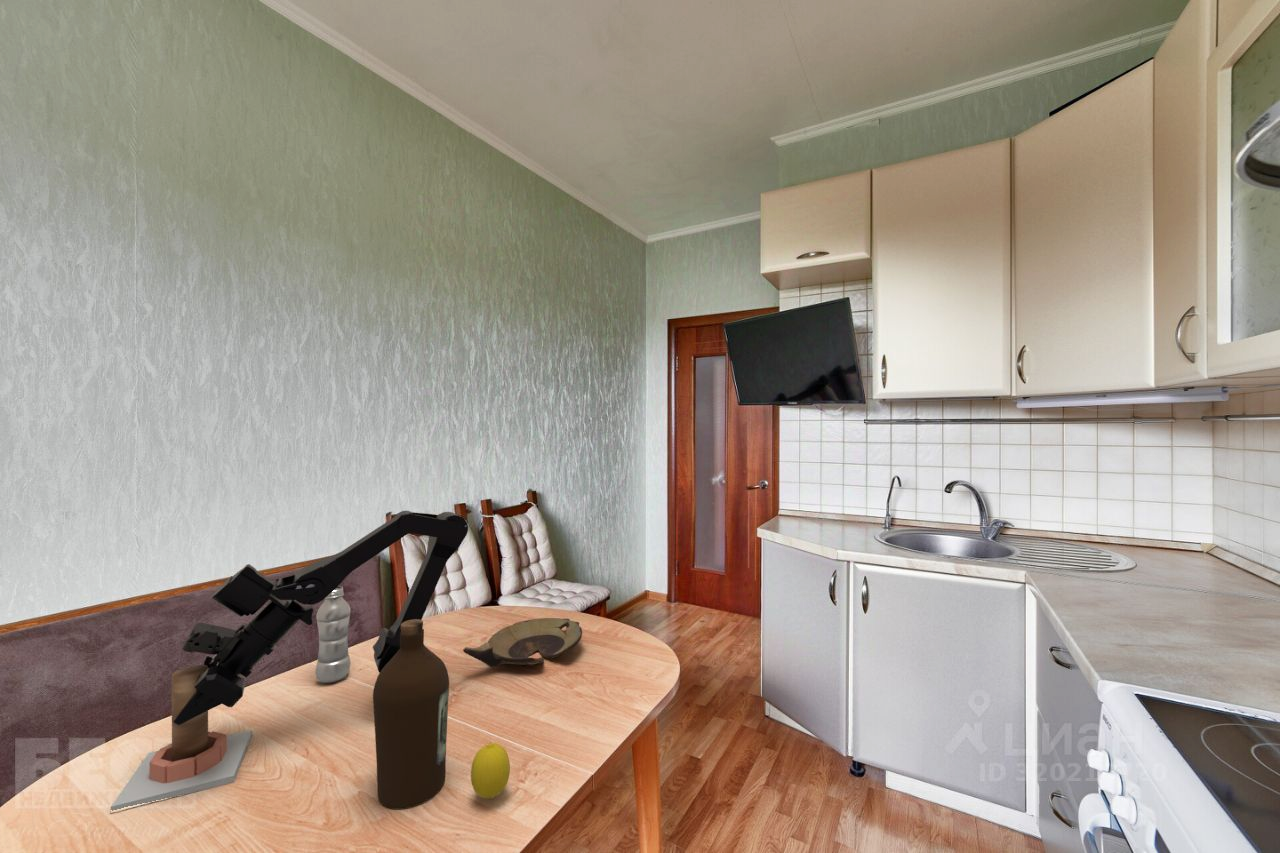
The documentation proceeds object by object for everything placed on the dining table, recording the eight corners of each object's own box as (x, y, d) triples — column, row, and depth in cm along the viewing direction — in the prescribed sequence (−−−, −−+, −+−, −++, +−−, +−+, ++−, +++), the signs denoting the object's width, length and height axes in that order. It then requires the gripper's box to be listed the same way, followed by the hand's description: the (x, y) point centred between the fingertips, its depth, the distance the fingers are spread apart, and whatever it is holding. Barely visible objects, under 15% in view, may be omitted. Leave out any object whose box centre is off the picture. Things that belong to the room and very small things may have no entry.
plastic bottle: (308, 684, 110) (308, 591, 111) (337, 670, 117) (337, 582, 117) (329, 689, 108) (329, 594, 108) (357, 675, 114) (357, 585, 115)
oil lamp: (599, 662, 120) (599, 629, 120) (467, 693, 106) (466, 656, 106) (567, 630, 140) (567, 602, 140) (451, 653, 126) (451, 621, 126)
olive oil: (368, 821, 71) (368, 640, 71) (377, 774, 81) (377, 615, 81) (449, 801, 75) (449, 629, 75) (449, 758, 85) (448, 607, 85)
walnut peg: (215, 749, 84) (215, 664, 85) (192, 767, 80) (191, 677, 80) (188, 749, 84) (188, 664, 85) (164, 767, 80) (163, 677, 80)
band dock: (252, 735, 92) (252, 715, 92) (233, 781, 79) (233, 759, 79) (148, 758, 85) (148, 737, 85) (110, 813, 73) (110, 789, 73)
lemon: (475, 786, 78) (475, 733, 78) (512, 784, 78) (512, 731, 78) (466, 813, 72) (466, 756, 72) (506, 810, 73) (506, 754, 73)
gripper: (228, 590, 93) (144, 668, 86) (213, 621, 77) (111, 719, 71) (281, 624, 97) (205, 700, 91) (278, 660, 81) (186, 755, 75)
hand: (179, 716), depth 82 cm, fingers closed on walnut peg, 4 cm apart
